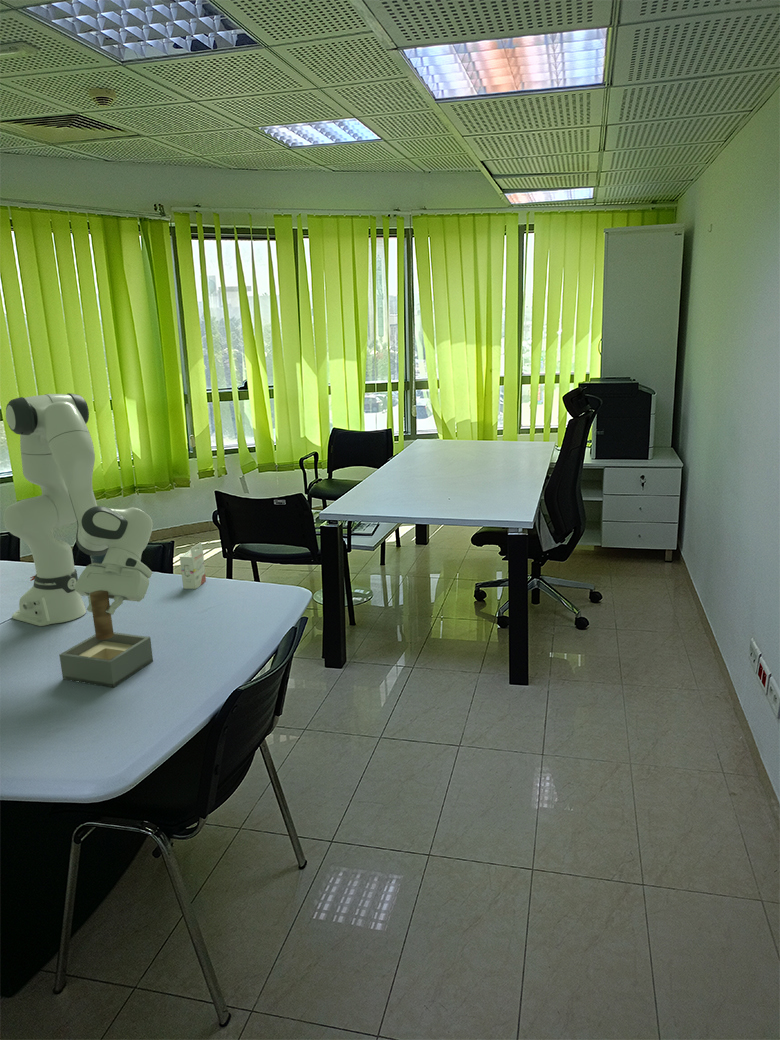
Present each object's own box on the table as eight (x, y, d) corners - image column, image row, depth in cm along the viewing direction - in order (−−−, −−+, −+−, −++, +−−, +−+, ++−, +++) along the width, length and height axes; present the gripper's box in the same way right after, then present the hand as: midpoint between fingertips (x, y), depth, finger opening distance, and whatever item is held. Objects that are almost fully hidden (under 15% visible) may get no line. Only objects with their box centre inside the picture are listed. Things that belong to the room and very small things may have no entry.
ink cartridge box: (193, 580, 269) (189, 540, 265) (206, 581, 268) (202, 541, 264) (182, 588, 261) (178, 548, 257) (195, 589, 260) (191, 548, 256)
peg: (92, 638, 197) (86, 595, 194) (103, 632, 201) (97, 589, 198) (106, 640, 195) (100, 596, 192) (117, 633, 199) (111, 590, 196)
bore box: (63, 679, 196) (59, 654, 194) (104, 653, 211) (101, 630, 209) (113, 687, 191) (110, 662, 189) (153, 661, 205) (150, 637, 203)
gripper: (81, 556, 203) (60, 603, 197) (145, 562, 196) (125, 611, 190) (95, 567, 208) (75, 613, 202) (157, 573, 201) (138, 621, 195)
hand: (99, 612), depth 196 cm, fingers closed on peg, 4 cm apart
